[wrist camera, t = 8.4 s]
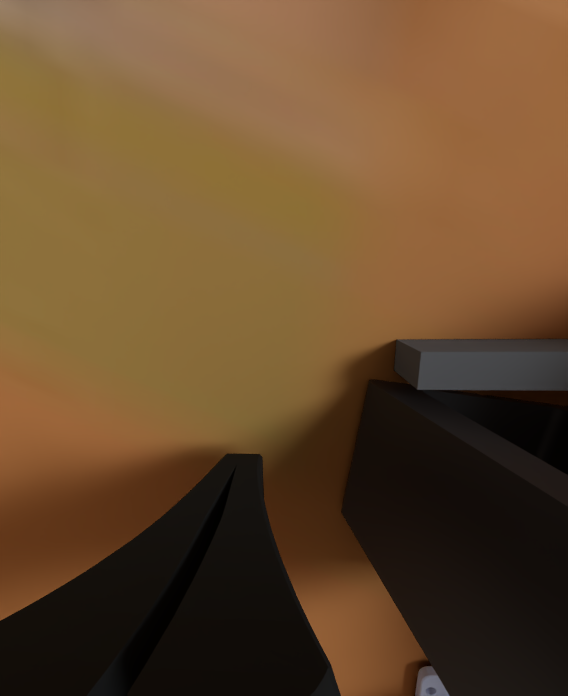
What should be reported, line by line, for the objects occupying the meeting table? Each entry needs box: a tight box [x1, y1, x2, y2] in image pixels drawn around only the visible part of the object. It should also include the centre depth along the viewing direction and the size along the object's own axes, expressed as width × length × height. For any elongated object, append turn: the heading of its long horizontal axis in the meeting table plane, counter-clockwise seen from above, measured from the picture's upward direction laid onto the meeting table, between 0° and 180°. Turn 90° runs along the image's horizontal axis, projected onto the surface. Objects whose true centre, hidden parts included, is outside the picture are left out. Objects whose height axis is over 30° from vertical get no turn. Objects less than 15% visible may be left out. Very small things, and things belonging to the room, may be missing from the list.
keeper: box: [394, 339, 568, 391], centre depth 10 cm, size 10×9×2 cm
